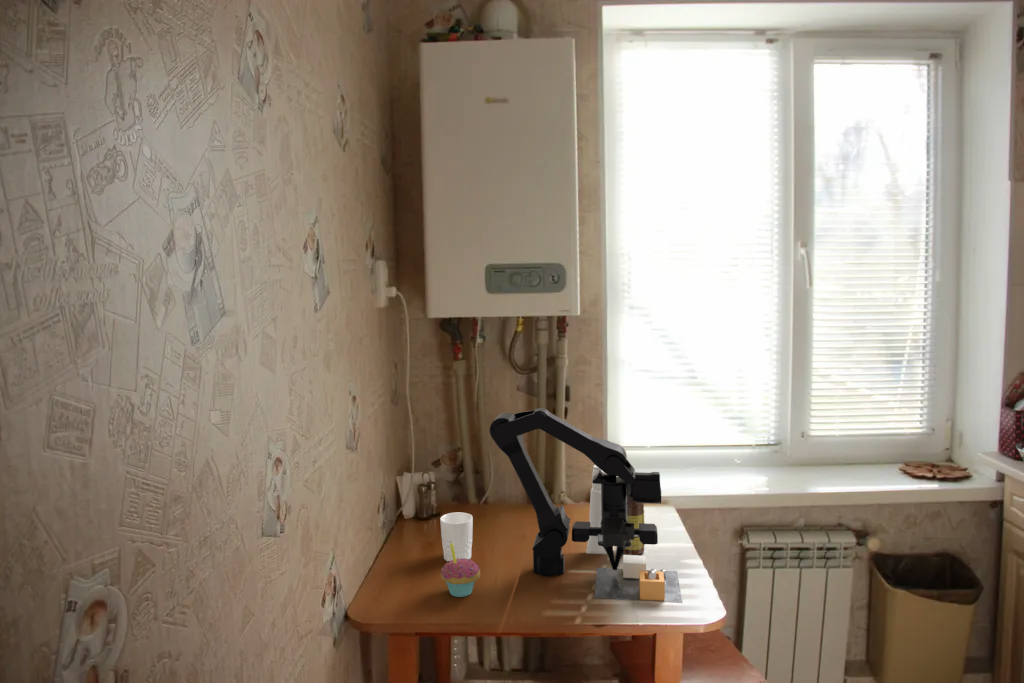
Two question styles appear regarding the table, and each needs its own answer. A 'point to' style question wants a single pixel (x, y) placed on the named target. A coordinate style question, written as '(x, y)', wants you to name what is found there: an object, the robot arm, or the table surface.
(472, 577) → the cupcake
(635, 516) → the sauce bottle
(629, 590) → the base plate
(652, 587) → the orange hollow square block
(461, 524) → the white cup
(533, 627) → the table surface
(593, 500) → the cosmetic bottle
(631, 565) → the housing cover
